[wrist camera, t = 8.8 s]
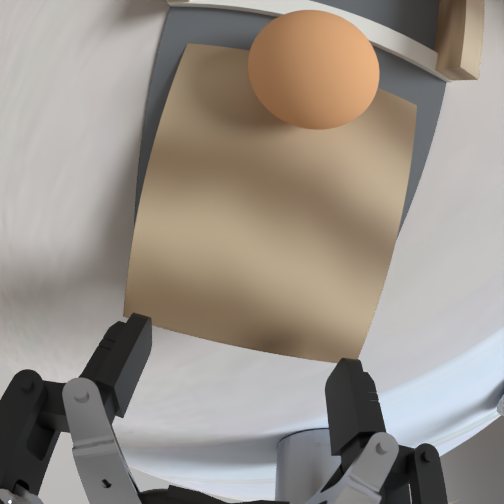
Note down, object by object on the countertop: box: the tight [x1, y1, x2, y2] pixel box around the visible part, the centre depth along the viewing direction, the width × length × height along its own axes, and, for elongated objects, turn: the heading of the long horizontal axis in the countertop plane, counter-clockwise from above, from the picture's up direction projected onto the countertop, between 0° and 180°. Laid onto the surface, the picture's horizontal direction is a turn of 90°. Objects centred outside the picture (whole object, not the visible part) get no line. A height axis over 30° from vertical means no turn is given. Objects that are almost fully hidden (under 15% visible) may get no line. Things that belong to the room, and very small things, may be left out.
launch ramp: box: [123, 43, 417, 363], centre depth 13 cm, size 14×12×6 cm
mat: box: [134, 0, 452, 240], centre depth 12 cm, size 25×15×1 cm, turn 167°
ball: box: [248, 10, 379, 130], centre depth 9 cm, size 5×5×5 cm
